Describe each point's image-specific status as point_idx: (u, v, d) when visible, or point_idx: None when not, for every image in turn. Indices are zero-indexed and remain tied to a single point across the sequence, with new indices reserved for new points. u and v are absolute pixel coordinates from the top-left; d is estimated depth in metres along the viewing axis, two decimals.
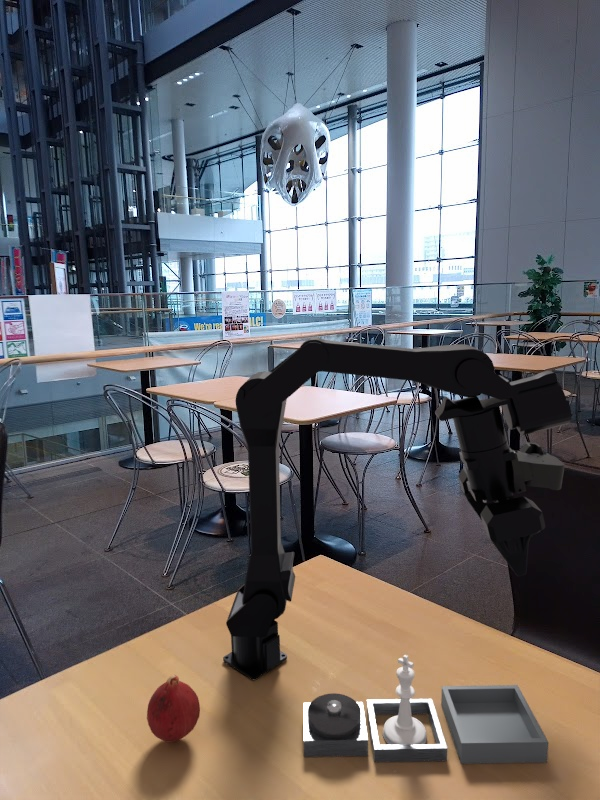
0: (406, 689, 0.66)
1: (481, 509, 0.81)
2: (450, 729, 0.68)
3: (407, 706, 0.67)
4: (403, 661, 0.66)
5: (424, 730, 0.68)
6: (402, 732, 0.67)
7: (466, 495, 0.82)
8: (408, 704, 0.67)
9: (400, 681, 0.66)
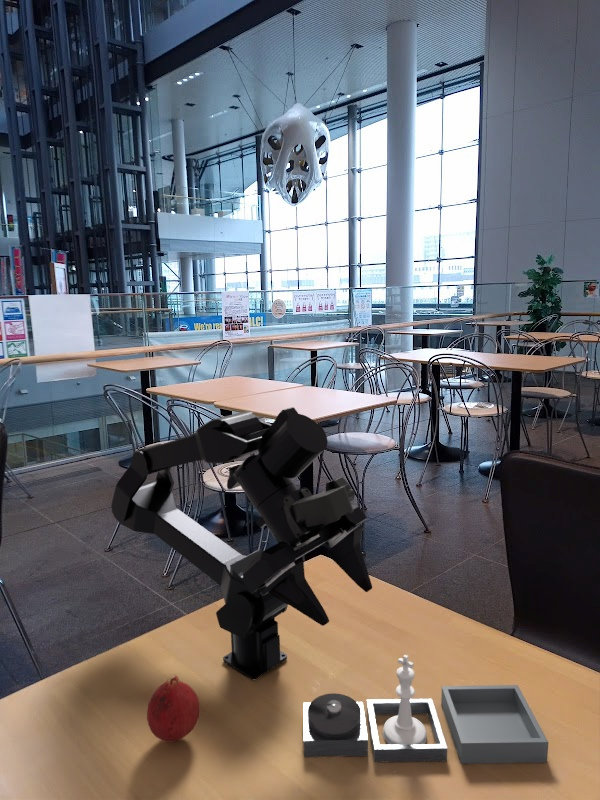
0: (406, 689, 0.66)
1: (339, 559, 0.76)
2: (450, 729, 0.68)
3: (407, 706, 0.67)
4: (403, 661, 0.66)
5: (424, 730, 0.68)
6: (402, 732, 0.67)
7: None
8: (408, 704, 0.67)
9: (400, 681, 0.66)
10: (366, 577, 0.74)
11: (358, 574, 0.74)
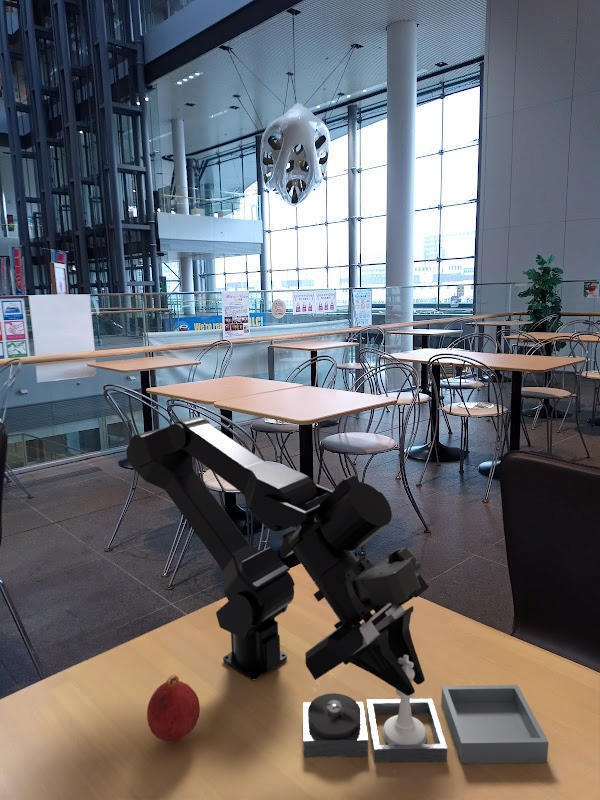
0: None
1: None
2: (450, 729, 0.68)
3: (407, 706, 0.67)
4: (403, 661, 0.66)
5: (424, 730, 0.68)
6: (402, 731, 0.67)
7: None
8: (408, 704, 0.67)
9: None
10: (418, 668, 0.67)
11: None
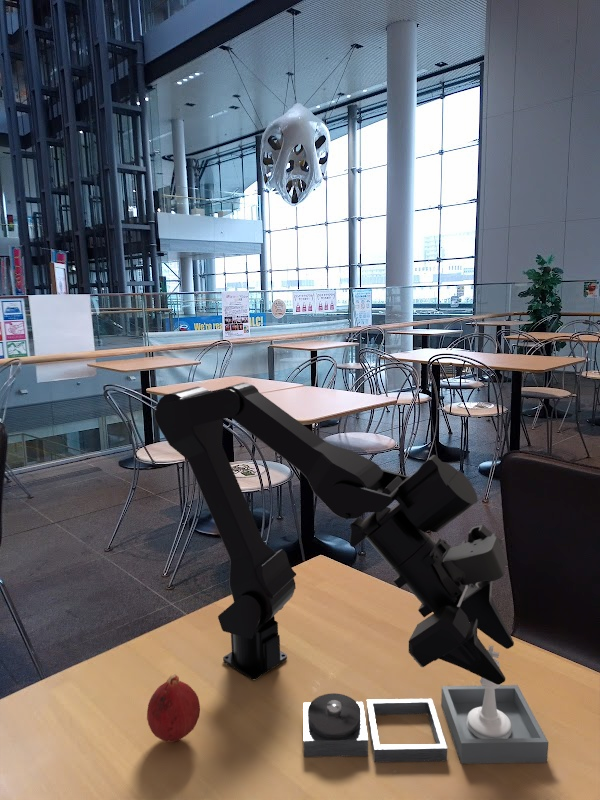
0: None
1: (470, 615, 0.71)
2: (450, 729, 0.68)
3: (493, 696, 0.67)
4: None
5: (507, 718, 0.68)
6: (489, 723, 0.67)
7: None
8: (494, 694, 0.67)
9: None
10: (507, 633, 0.69)
11: (497, 630, 0.69)
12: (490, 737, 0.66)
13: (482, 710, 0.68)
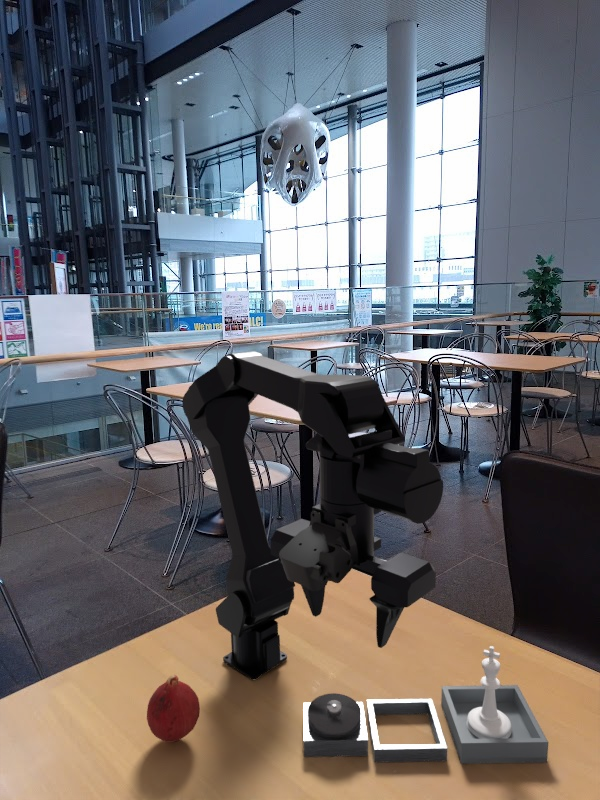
0: (493, 680, 0.67)
1: None
2: (450, 729, 0.68)
3: (493, 697, 0.67)
4: (489, 652, 0.66)
5: (507, 718, 0.68)
6: (489, 723, 0.67)
7: None
8: (494, 695, 0.67)
9: (487, 673, 0.66)
10: (377, 636, 0.62)
11: None
12: (490, 738, 0.66)
13: (482, 710, 0.68)
